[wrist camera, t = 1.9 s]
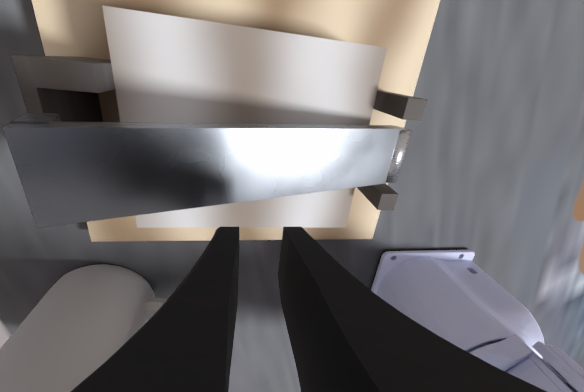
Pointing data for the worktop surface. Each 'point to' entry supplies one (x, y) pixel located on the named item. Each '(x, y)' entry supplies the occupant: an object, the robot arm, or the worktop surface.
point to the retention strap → (189, 164)
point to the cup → (76, 329)
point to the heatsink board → (261, 15)
